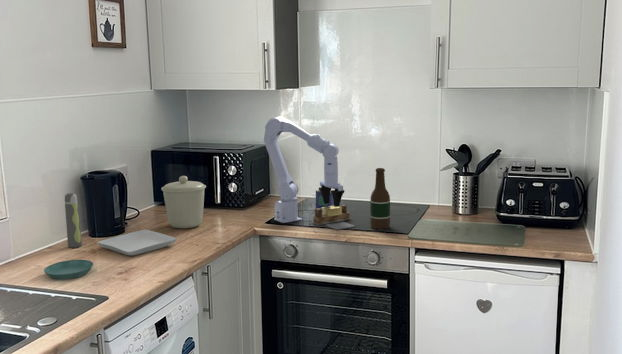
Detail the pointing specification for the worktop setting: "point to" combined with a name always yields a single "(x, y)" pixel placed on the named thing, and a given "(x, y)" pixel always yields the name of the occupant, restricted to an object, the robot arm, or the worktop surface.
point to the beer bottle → (380, 203)
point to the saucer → (68, 269)
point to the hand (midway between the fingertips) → (331, 205)
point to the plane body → (323, 219)
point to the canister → (184, 202)
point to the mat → (340, 225)
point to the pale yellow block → (331, 211)
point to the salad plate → (137, 242)
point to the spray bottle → (72, 221)
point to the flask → (320, 200)
